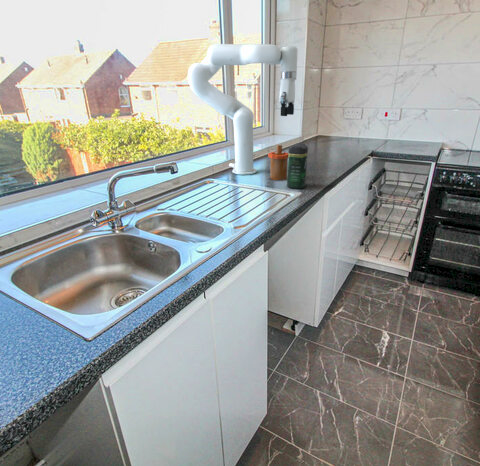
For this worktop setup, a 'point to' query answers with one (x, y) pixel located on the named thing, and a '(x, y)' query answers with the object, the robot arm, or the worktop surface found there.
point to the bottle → (278, 166)
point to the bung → (278, 156)
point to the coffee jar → (297, 166)
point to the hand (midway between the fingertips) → (287, 115)
